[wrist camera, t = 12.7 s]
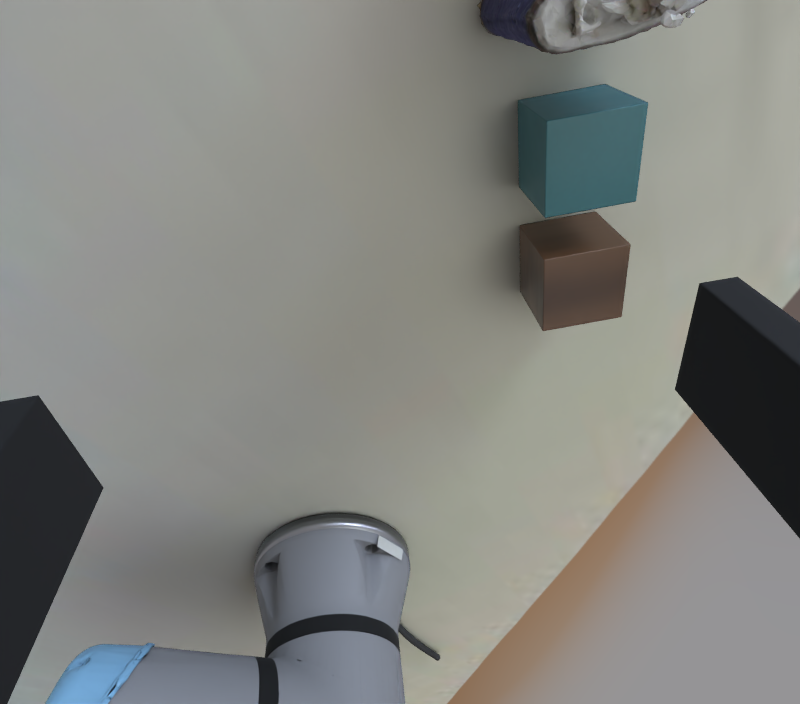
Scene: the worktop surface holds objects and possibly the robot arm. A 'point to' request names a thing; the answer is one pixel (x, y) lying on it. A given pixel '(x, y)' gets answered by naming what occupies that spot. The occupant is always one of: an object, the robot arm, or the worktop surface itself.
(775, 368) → the robot arm
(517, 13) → the flask
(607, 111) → the block
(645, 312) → the worktop surface
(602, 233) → the block
